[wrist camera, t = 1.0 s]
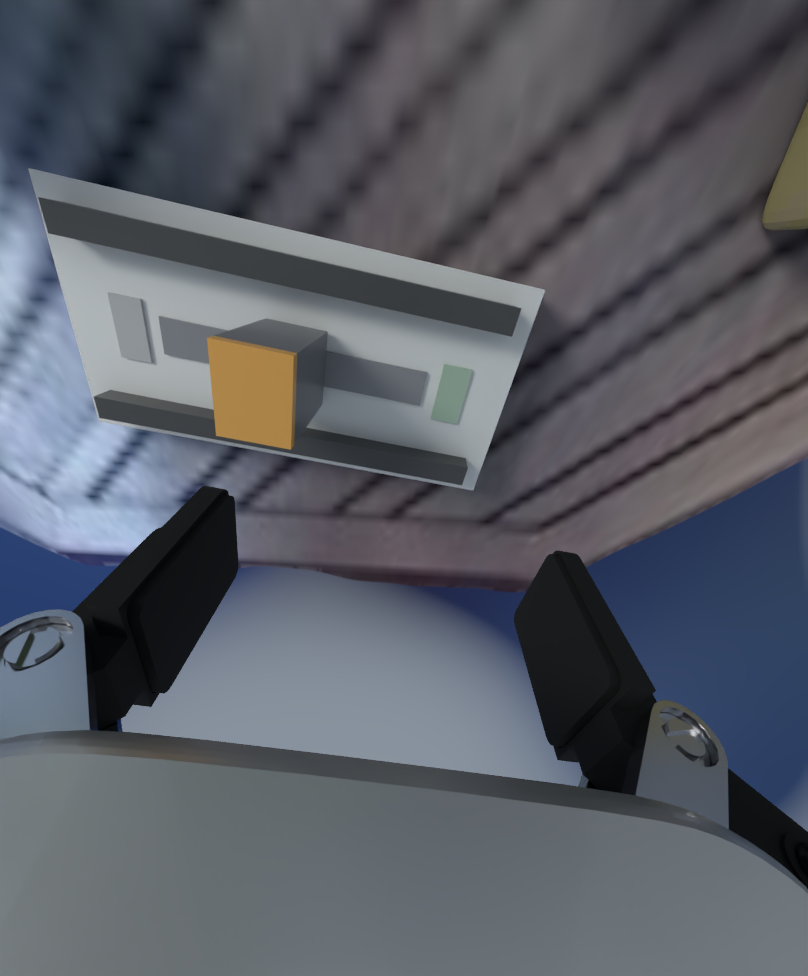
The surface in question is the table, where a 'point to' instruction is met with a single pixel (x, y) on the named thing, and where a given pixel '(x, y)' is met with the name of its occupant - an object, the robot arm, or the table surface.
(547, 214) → the table surface
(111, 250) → the breaker panel
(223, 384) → the block
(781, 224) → the cheese
